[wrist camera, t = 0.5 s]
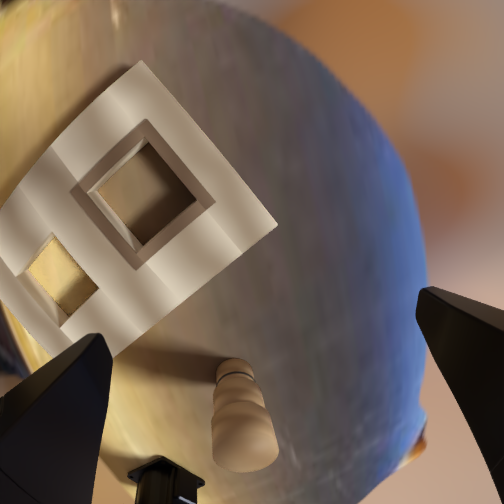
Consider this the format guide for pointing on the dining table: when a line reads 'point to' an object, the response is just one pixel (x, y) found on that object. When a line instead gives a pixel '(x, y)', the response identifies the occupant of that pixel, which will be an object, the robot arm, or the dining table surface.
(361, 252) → the dining table surface
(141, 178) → the dining table surface
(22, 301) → the board
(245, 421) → the peg
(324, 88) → the dining table surface
